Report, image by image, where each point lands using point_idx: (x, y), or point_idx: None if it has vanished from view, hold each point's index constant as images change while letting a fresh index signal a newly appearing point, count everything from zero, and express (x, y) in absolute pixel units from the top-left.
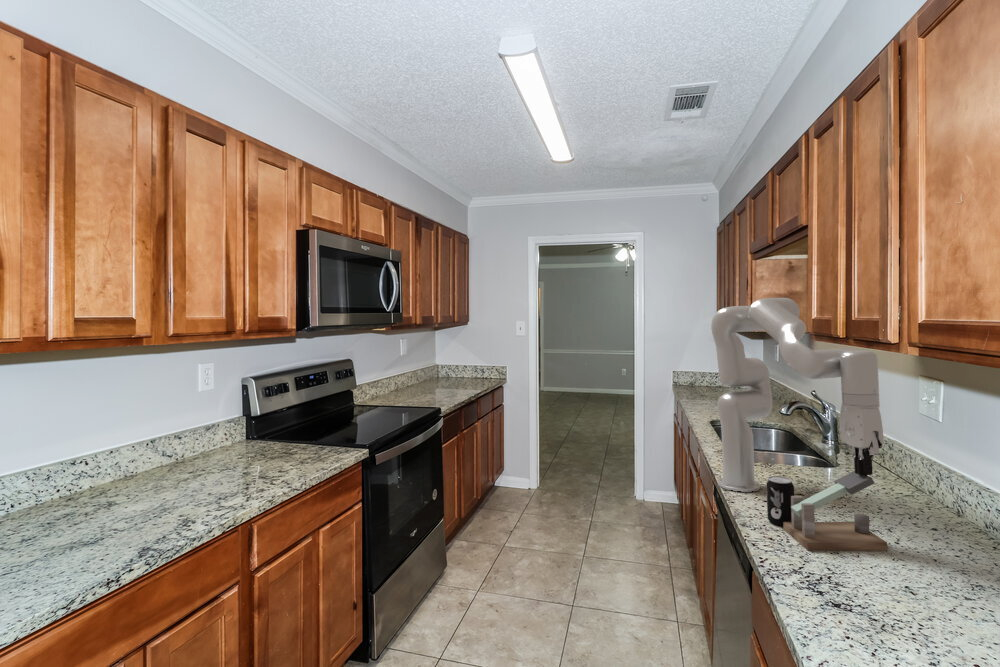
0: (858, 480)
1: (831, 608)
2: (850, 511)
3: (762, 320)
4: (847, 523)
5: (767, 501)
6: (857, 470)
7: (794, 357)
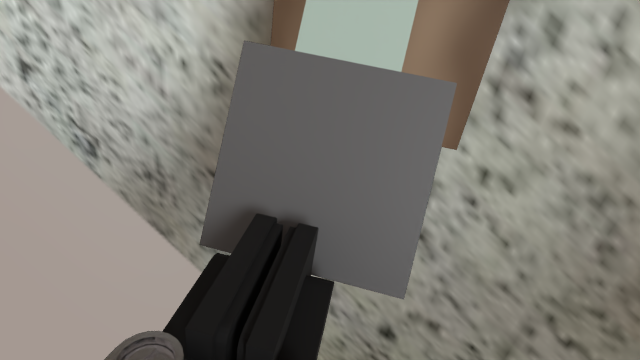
0: (263, 173)
1: None
2: (605, 253)
3: None
4: (452, 106)
5: None
6: (266, 236)
7: None
